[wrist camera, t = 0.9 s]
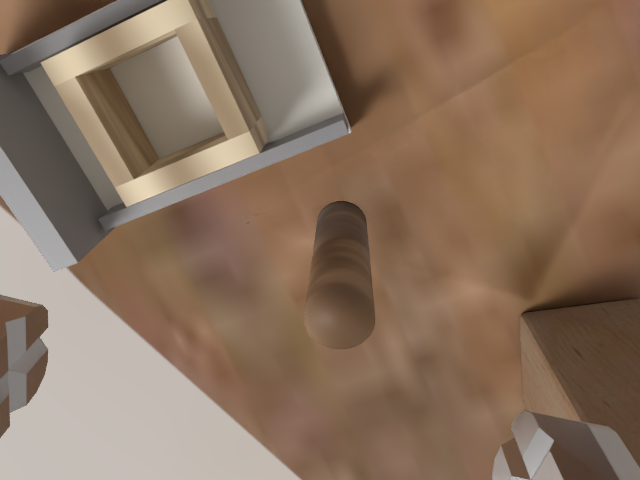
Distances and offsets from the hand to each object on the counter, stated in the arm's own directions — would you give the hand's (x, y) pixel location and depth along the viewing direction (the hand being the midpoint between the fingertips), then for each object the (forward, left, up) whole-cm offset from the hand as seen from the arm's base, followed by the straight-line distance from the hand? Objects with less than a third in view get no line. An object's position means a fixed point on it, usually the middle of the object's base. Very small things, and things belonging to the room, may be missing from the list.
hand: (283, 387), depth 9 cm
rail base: (+10, -4, -31) cm, 33 cm away
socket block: (+10, -4, -30) cm, 32 cm away
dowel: (+3, +10, -31) cm, 33 cm away
